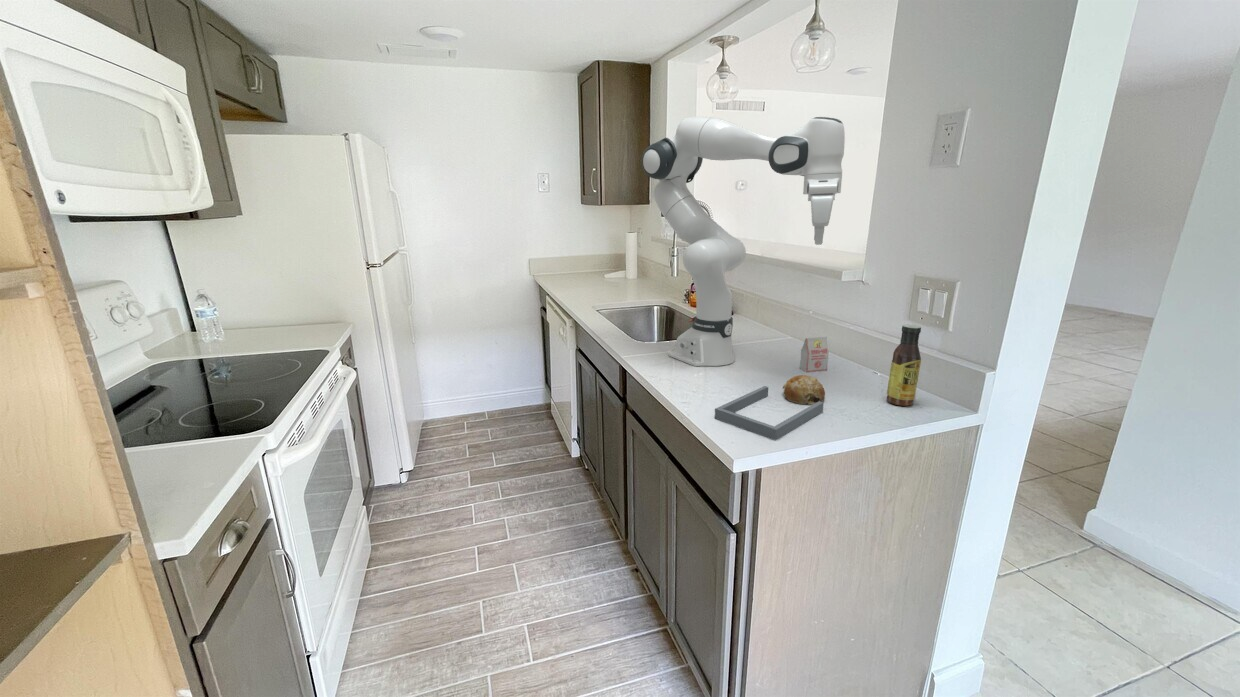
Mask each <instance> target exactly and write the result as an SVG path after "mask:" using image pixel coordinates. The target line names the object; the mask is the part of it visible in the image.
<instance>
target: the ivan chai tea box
mask: <svg viewBox="0 0 1240 697" xmlns="http://www.w3.org/2000/svg"><path fill="white" fill-rule="evenodd" d="M829 352H830V350H829V345H828V337H827V336H823V337H822V336H821V337H810V338H809V337H806V338H805V339H804V343H803V345H802V347H801V349H800V362H799V364H800V365H799V369H800V370H802V371H803V372H805V373H813V372H826V371H828V363H829Z"/></svg>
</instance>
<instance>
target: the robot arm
mask: <svg viewBox="0 0 1240 697" xmlns="http://www.w3.org/2000/svg"><path fill="white" fill-rule="evenodd" d="M844 125H845V124H844V123H843V122H842V120H840V119H838V118H834V117H829V116H828V117H827V116H826V117H825V116H816V117H813V118H810V120H809V121H808V122H807V123H806V124H805V125H803V126H802V127H800V128H799V129H796V130H795V131H793V132H791V133H789V134H786V135H784V136H780V137H778V138H777V137H772V136H768V135H767V136H765V135H762V134H761V133H757V132H754V131H752V130H749V129H747V128H744V127H743V126H741V125H738V124H735V123H733V122H731V121H727V120H724V119H721V118H716V117H711V116H689V117H685V118H684V119H682V121H681V122H680V123H679V124H678V125H677V127H676V132H675V134H674V135H675V136H674V137H673V138H668V137H664V138H662V139H661V140H658V141H656V142H654V143H651V144H650V145H649V146H648V145H647V147H646V148H645V149H644V151H643V153H642V155H641V166H642V170H643V172H644V174H645V175H647V177H649V178H651V179H653V180H658V182H657V184H655V186H654V188H653V193H652V195H653V198H654V202H655V203H656V205H657V207H658V209H659V211H660V213H661V214H662V216H663V217H664V218H665V220H666V222H667V223H668V224H669V225H670V227H671V228H672V230H673V231H674V232H675V234H676V235H677V237H678V238H679V239H681V240H682V241H684V242H685V243H687V244H689V245H688V246H687V247H686V248H685V250H684V252H683V255H682V263H683V267H684V269H685V271H686V272H688V274H689V275H690V276H691V278H692V282H693V284H694V289H695V298H696V302H695V303H696V304H695V305H696V306H695V307H696V308H695V309H696V310H695V311H696V312H695V316H694V317H692V318H689V323H692V325H691V327H690V328H688V329H687V330H686V331H684V332H683V333H681V334H680V335H678V336H677V339H676V341H675V347H674V348H672V349H670V350H669V351H668V354H667V355H668V357H671V358H674V359H676V360H679V361H681V362H683V363H686V364H689V365H691V366H694V367H703V366H704V367H706V366H707V367H708V366H709V367H710V366H711V367H719V366H726V365H731V364H733V363H734V362H735V361H736V356H735V355H734V354H735V353H734V349H733V340H732V334H733V333H732V332H733V326H734V324H733V322H734V319H733V317H732V313H733V307H732V306H733V293H732V291H731V289H730V288H729V287H728V285H727V282H726V276H725V274H726V273H727V272H731V271H733V270H735V269H736V268H737V267H739V266H740V265H741V264H742V263H743V262H744V261H745V258H746V252H747V251H746V246H745V244H744V243H743V242H742V241H741V239H739V238H736V237H735V236H733V235H732V234H730V233H729V232H728V231H726V230H725V229H724V228H723V227H722V226H721V225H719V224H718V223H717V222H716V221H715V220H714V219H713V218H712V217H710V215H709V214H708V213H707V212H706V211H705V210H704V208H703V207H702V205H701V204H700V203H699V202H698V200H697V198H695V197H694V195H693V194H692V192H690V190H689V188H688V186H687V184H688V183H690V182H692V181H694V178H695V176H696V174H697V173H698V172H699V170H700V168H701V167H702V164H703V159H706V160H710V161H735V160H736V161H737V160H762V161H767V162H768V164H769V166H770V168H771V170H773V171H774V172H775V173H776V174H777V173H778V174H780V175H783V176H801V177H803V188H802V190H803V191H802V192H803V193H802V194H803V195H807V201H808V202H810V208H811V209H810V210H811V211H810V212H811V225H812V227H814V235H813V236H814V238H813V240H814V245H816V246H817V245H818V246H820V245H822V244H823V242H824V241H823V239H824V235H825V227H828V226H829V223H830V220H831V214H832V209H833V204H834V201H835V200H836V199H835V197H836V194H841V192H842V182H843V169H842V168H843V167H842V161H843V158H844V154H845V143H846V141H845V140H846V137H845V134H846V133H845V126H844Z"/></svg>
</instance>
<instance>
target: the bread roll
mask: <svg viewBox="0 0 1240 697" xmlns="http://www.w3.org/2000/svg"><path fill="white" fill-rule="evenodd" d="M782 389H783V396H784V397H785V399H786V400H787V401H789V402H792V403H794V404H798V405H803V406H805V405H806V406H811V405H813V404H815V403H817V402H818V401H820V402H823V401H824V399H825V396H826V390H825V388H824V386H823V384H821V382H819V381H818V379H817V378H816V377H812V376H811V375H807V374H806V375H805V374H802V375H796V376H793V377H791V378H790V379H788V380H786V382H785V384H783V385H782Z"/></svg>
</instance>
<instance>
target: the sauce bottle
mask: <svg viewBox="0 0 1240 697" xmlns="http://www.w3.org/2000/svg"><path fill="white" fill-rule="evenodd" d="M901 326H902V327H901V338H900V340H899V342H900V343H899V344H898V346H897V347H896V348H895V349H894V350H893V354H892V360H891V365H890V370H889V377H888V384H887V390H886V401H887V402H888V403H890V404H893V405H896V406H903V407H905V406H906V407H908V406H912V405H913V404H914V401H915V399H916V393H917V392H916V391H917V386H918V381H919V375H920V368H921V362H922V358H921V352H920V348H919V338H920V334H921V332H922V327H921V326H920V325H916V324H902V325H901Z"/></svg>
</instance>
